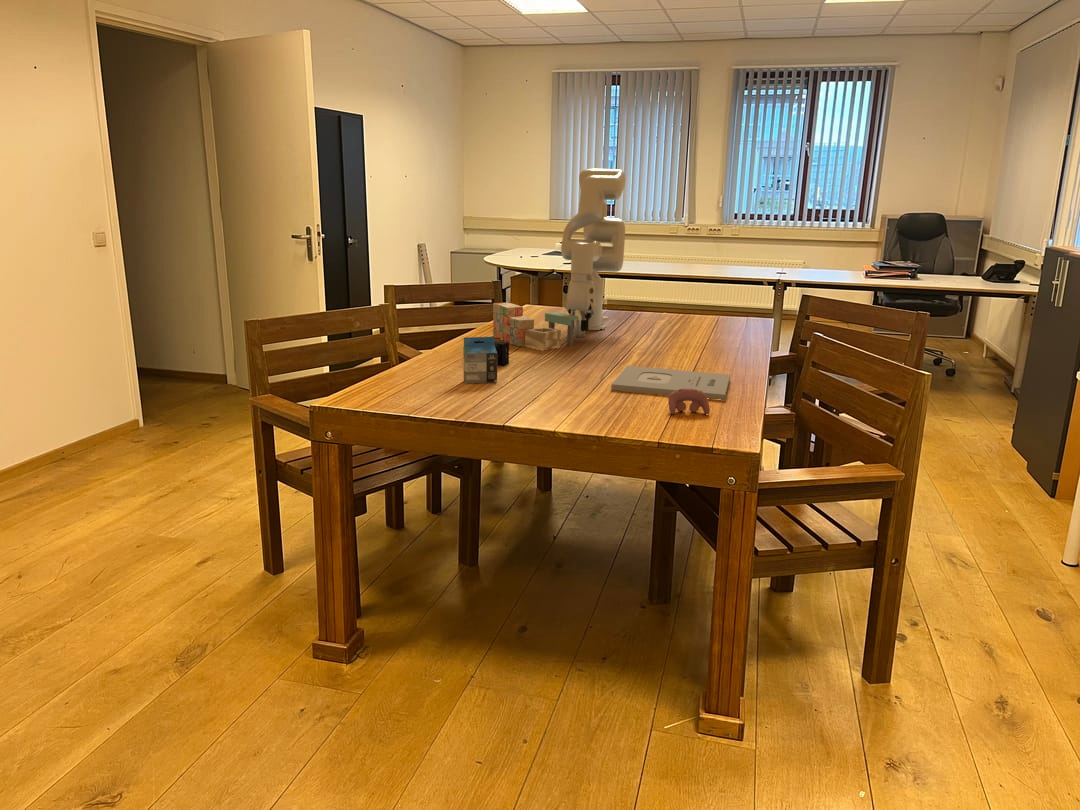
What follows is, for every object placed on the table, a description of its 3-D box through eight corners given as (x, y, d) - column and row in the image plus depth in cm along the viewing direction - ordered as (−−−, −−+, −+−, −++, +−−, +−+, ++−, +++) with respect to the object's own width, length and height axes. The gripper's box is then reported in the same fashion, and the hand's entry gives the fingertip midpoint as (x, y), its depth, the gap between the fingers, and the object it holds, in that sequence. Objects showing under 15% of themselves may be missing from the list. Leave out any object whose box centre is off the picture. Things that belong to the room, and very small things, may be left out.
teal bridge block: (552, 340, 278) (552, 312, 275) (577, 345, 270) (578, 316, 267) (544, 341, 275) (545, 313, 273) (569, 346, 267) (570, 317, 265)
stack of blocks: (533, 346, 267) (534, 310, 264) (517, 347, 264) (517, 311, 261) (508, 335, 285) (508, 301, 282) (492, 336, 283) (492, 302, 279)
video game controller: (706, 418, 192) (705, 390, 193) (711, 414, 188) (710, 386, 189) (666, 417, 192) (666, 389, 193) (670, 414, 187) (669, 385, 189)
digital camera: (470, 363, 237) (470, 341, 236) (479, 360, 242) (479, 338, 240) (500, 367, 233) (500, 344, 231) (508, 364, 238) (509, 341, 236)
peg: (578, 335, 280) (579, 307, 277) (587, 337, 278) (588, 309, 275) (571, 336, 277) (572, 309, 275) (579, 338, 275) (580, 310, 272)
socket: (543, 344, 270) (543, 327, 269) (560, 347, 265) (560, 330, 263) (525, 347, 264) (525, 329, 262) (541, 351, 259) (542, 333, 257)
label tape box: (465, 384, 212) (465, 339, 209) (463, 380, 216) (463, 337, 213) (497, 383, 215) (497, 339, 211) (494, 379, 218) (494, 336, 215)
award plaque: (724, 403, 202) (725, 394, 202) (611, 392, 210) (611, 384, 210) (729, 381, 225) (730, 374, 225) (627, 372, 233) (627, 365, 232)
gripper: (606, 279, 268) (604, 332, 274) (570, 274, 280) (569, 325, 285) (592, 281, 263) (590, 334, 269) (556, 276, 274) (555, 327, 280)
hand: (579, 329), depth 277 cm, fingers closed on peg, 4 cm apart
